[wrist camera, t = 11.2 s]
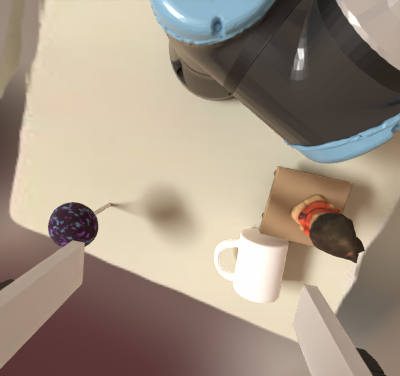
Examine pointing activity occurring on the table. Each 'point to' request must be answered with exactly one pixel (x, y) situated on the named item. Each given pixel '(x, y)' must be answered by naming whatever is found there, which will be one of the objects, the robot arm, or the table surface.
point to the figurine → (327, 227)
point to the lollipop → (74, 223)
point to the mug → (255, 265)
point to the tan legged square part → (298, 201)
